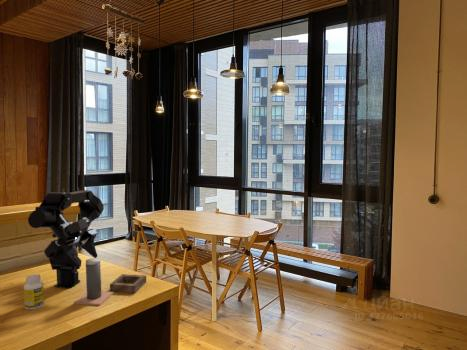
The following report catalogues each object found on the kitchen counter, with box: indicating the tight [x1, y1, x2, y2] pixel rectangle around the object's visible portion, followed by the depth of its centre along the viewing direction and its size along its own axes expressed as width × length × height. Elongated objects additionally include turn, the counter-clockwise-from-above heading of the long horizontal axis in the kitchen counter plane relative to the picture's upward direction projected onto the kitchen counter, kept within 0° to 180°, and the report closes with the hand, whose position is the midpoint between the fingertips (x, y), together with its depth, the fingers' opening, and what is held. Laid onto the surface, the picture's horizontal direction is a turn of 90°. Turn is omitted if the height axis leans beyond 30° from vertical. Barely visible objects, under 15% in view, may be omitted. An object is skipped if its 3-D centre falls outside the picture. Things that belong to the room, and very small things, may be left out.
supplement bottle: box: [23, 273, 45, 310], centre depth 110 cm, size 5×5×10 cm
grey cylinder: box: [85, 257, 102, 300], centre depth 116 cm, size 4×4×13 cm
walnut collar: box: [109, 273, 147, 294], centre depth 126 cm, size 10×10×2 cm
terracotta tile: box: [73, 290, 115, 307], centre depth 116 cm, size 9×9×1 cm
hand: (86, 261), depth 116 cm, fingers open, 9 cm apart
